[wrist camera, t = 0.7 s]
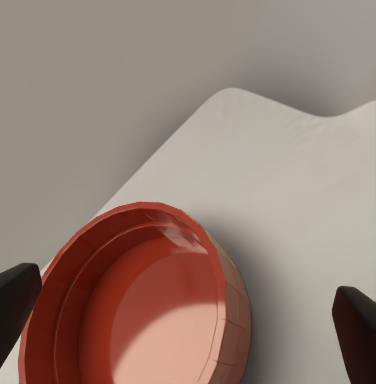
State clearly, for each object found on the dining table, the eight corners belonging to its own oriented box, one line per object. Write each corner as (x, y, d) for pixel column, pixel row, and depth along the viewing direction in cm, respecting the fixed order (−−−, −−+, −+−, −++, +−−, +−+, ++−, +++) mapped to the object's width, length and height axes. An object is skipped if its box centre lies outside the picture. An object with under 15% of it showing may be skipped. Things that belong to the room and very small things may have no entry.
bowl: (225, 510, 17) (181, 547, 13) (43, 403, 25) (-19, 404, 21) (269, 238, 24) (250, 205, 20) (115, 224, 32) (78, 199, 28)
